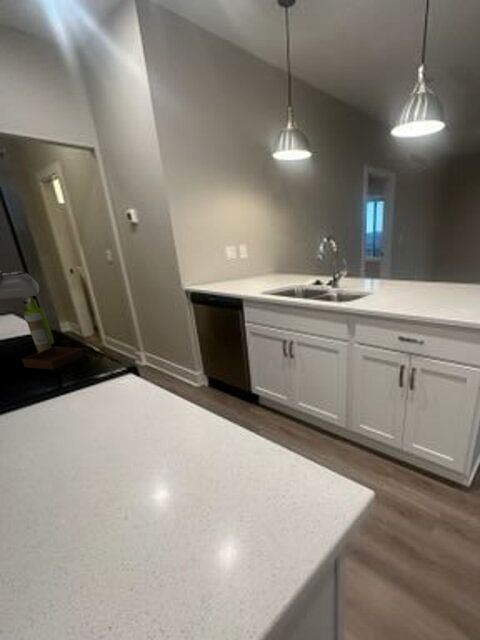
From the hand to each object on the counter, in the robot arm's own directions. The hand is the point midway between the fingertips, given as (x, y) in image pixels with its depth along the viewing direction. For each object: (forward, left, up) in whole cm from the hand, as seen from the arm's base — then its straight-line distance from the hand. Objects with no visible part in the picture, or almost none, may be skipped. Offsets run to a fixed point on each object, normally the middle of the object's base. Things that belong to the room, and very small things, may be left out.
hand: (9, 303), depth 103 cm
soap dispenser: (-15, +17, -20) cm, 30 cm away
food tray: (+6, +3, -20) cm, 21 cm away
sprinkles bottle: (-7, +10, -20) cm, 23 cm away
